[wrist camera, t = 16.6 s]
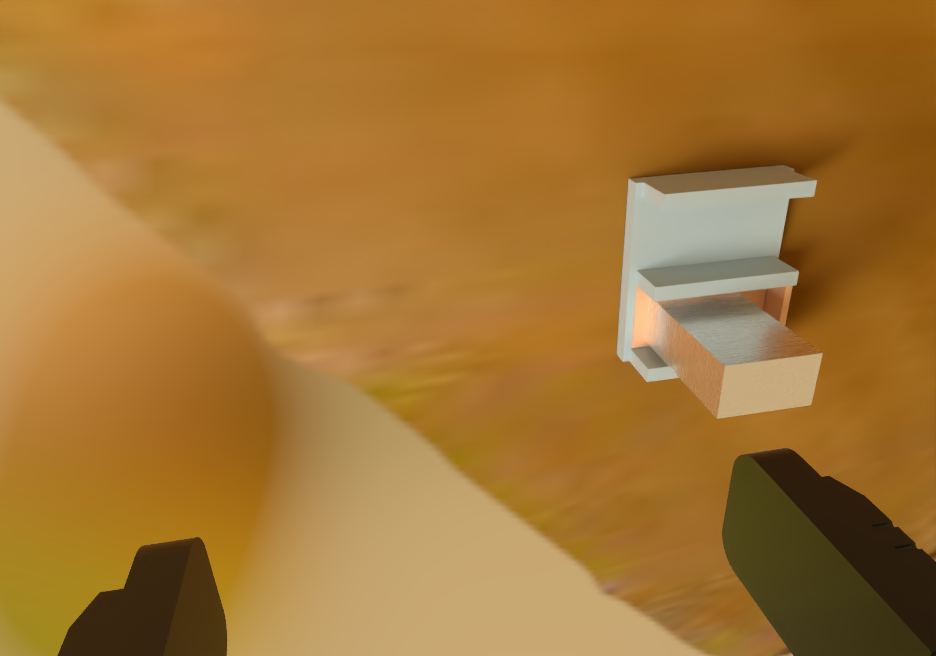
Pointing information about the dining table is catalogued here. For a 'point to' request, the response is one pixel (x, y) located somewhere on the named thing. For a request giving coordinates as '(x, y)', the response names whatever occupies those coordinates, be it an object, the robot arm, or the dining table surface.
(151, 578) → the robot arm
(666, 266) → the slot rack
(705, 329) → the panel
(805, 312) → the dining table surface
